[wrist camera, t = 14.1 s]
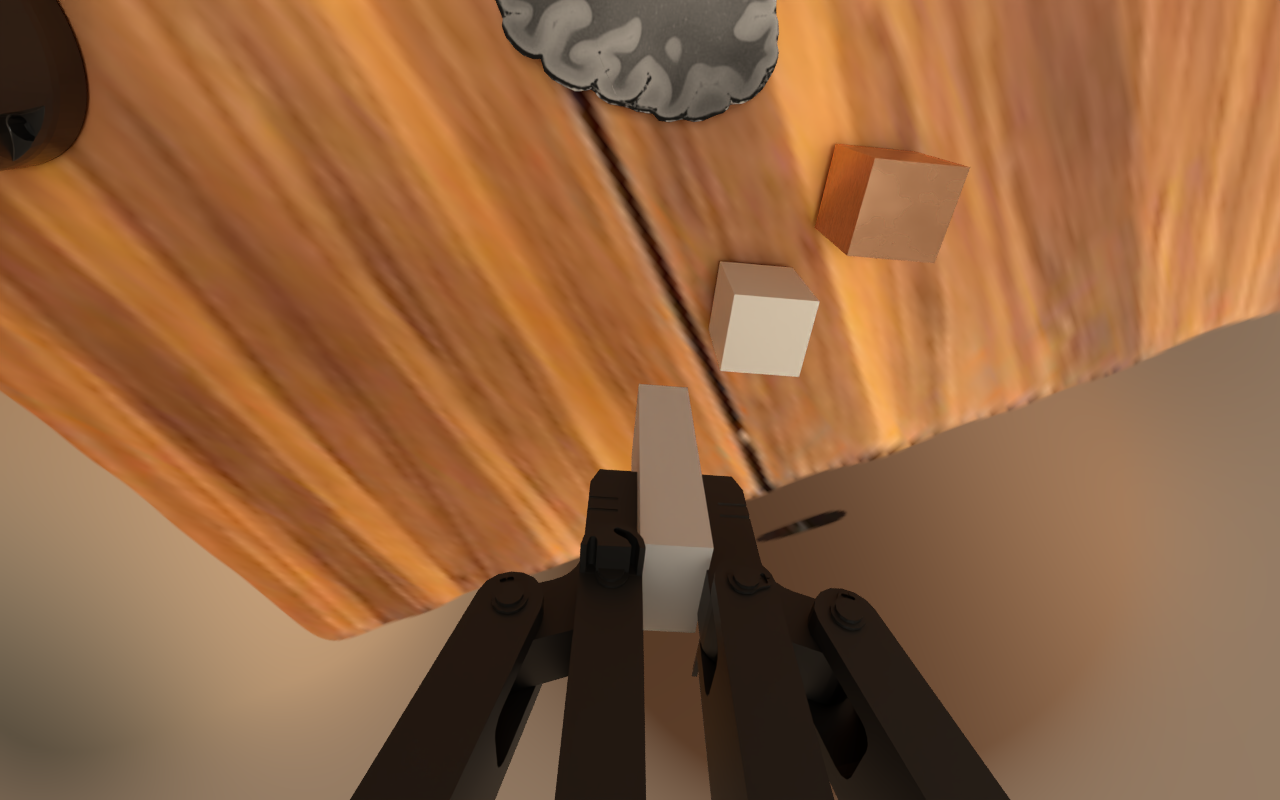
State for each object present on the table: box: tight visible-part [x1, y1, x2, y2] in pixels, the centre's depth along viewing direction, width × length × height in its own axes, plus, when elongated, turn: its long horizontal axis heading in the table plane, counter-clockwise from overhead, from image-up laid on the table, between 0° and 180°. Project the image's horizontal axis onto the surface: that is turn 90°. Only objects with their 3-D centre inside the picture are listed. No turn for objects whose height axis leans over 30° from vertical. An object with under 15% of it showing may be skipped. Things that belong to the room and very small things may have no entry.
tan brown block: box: [815, 144, 970, 263], centre depth 33 cm, size 5×5×8 cm
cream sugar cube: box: [709, 261, 820, 377], centre depth 37 cm, size 5×5×7 cm
